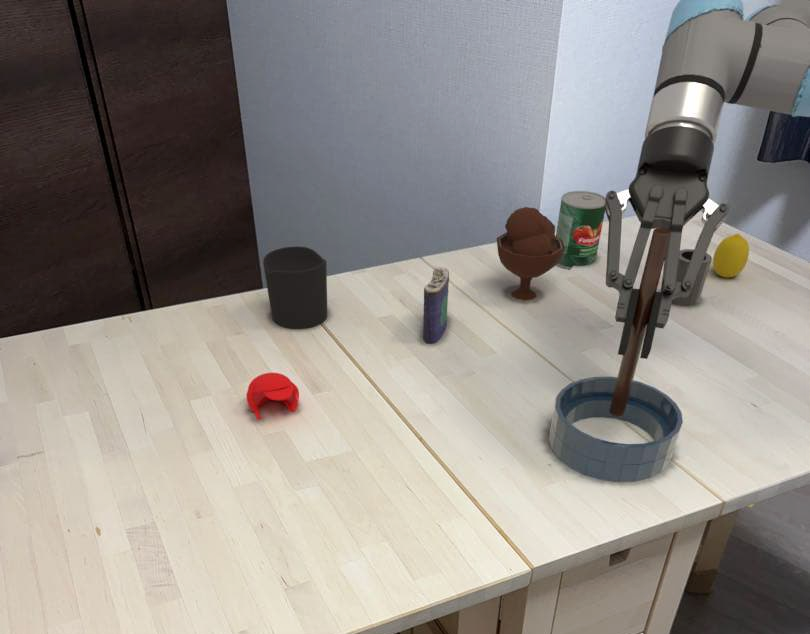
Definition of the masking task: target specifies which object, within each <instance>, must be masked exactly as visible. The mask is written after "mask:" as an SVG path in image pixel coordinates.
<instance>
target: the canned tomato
mask: <svg viewBox="0 0 810 634" xmlns="http://www.w3.org/2000/svg"><path fill="white" fill-rule="evenodd" d="M560 199H561V200H560V206H559V213H558V219H557V226H556V230H555V236H556V237H558V238H560V239H562V240H563V243H564V247H565V250H564V252H563V255H562V258H561V259H560V261H559V262H558V264H557V265H556V266H557V267H559V268H562V269H566V270H572V269H573V267H584V266H589V265H592V264H593V263H595V262H596V260H597V255H598V250H599V244H600V239H601V235H602V234H601V233H602V231H603V230H602V229H603V225H604V219H605V215H606V212H605V209H604V205H605V199H606V196H604V195H602V194H600V193H598V192H593V191H587V190H574V191H568V192H566V193H564V194H562V195H561V198H560Z"/></svg>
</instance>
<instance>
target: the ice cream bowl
mask: <svg viewBox="0 0 810 634" xmlns="http://www.w3.org/2000/svg"><path fill="white" fill-rule="evenodd" d="M504 227H505V229H506V230H505V231H506V232H504V233H502V234H501V235H499V236H496V247H497V255H498V258H499V262H500V263H501V264H502V266H503V267H504V268H505V269H506V270H507V271H508V272H510V273H511V274H513V275H515V276H516V277H519V279H520V281H519V287H518V288H515V289H514V290H512V291H511V292H510V296H511V297H512V298H514V299H515V300H518V301H519V300H520V301H524V302H525V301H533V300H535V299H536V298H537V297H538V294H537V292H535V291H534V290H532V289H531V281H532V279H533V278H538V277H540V276H543V275H545V274H546V273H547V272H549V271H551V270H552V269H553V268H554V267H556V266H558V265H557V264H558V262H559V261H560V259H561V258H562V255H563V252H564V250H565V247H564V243H563V240H562V239H560V238H558V237H556V226H555V224H554V223H553V222H552V221H551V220H550V219H549V217H547V216H545V215H544V214H542V213H541V212H540V211H539V209H537V208H535V207H528V206H524V207H520V208H518V209H516V210H514V211H513V212H512V213H510V215H509V217H508V218H507V219H506V223H505V225H504Z"/></svg>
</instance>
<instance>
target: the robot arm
mask: <svg viewBox="0 0 810 634" xmlns="http://www.w3.org/2000/svg"><path fill="white" fill-rule="evenodd" d="M744 16H745V14H744V3H743V0H679V1H678V2H677V3H676V5H675V7H674V9H673V10H672V13H671V16H670V20H669V24H668V28H667V32H666V35H665V38H664V42H663V45H662V48H661V55H660V61H659V67H658V71H657V76H656V80H655V81H656V82H655V87H654V91H653V96H652V99H651V104H650V107H649V108H650V109H649V113H648V117H647V121H646V126H645V131H644V141H643V142H642V145H641V149H640V150H641V151H640V153H639V154H640V155H639V159H638V165H637V169H636V174H635V177H634V179H633V180H632V181H631V182H630V184H629V186H628V188H626V189H624V190H621V191H618V192H617V191H615V190H609V191H608V192H606V194H605V198H606V199H605V205H604V209H605V215H606V217H607V221H608V230H607V231H608V233H607V248H606V249H607V250H606V251H607V253H606V266H605V268H606V270H605V272H606V273H605V285H606V287H608V288H609V289H610V288H613V289H615V290H616V291H617V292H618V293H619V294H618V295H619V296H618V301H617V306H616V310H615V315H614V320H615V322H616V323H621V324H623V328H622V332H621V337H620V342H619V347H618V350H617V355H619V356H623V355H625V353H626V350H627V347H628V342H629V337H630V333H631V328H632V323H633V319H634V314H635V309H636V305H637V300H638V295H639V291H640V289H639V288H634V285H635V282H636V278H637V276H638V272H639V270H640V266H641V263H642V260H643V256H644V253H645V251H646V246H647V244H648V242H649V241H648V239H649V237H650V234H651V230H654V229H656V228H665V229H668V230H670V231H671V237H670V241H669V245H668V248H667V252H666V256H665V260H664V264H663V268H662V276H661V277H662V278H661V285H660V291H656V293H655V297H654V301H653V304H652V308H651V312H650V316H649V320H648V323H647V328H646V332H645V336H644V340H643V344H642V348H641V351H640V355H639V359H645V360H648V358H649V356H650V353H651V352H652V351H651V350H652V346H653V342H654V336H655V333H656V328H657V329H663V330H664V329H665V327H666V325H667V323H668V321H669V317H670V312H671V309H672V304H673V303H672V300H673V299H675V298H678V297H682V298H685V297H687V296H688V295H689V294H690V292H691V290H692V288H693V286H694V283H695V281H696V278H697V275H698V273H699V270H700V268H701V265H702V262H703V260H704V257H705V255H706V253H708V252H707V251H708V250H709V247H710V244H711V242H712V239H713V236H714V234H715V232H716V231H717V230H718V229H719V228H720V226H721V225H722V224H723V223H724V221H725V219H726V217H727V215H728V213H729V211H730V206H729V205H728V204H726V203H720V204H718V203H716V202H715V201H713V200H712V199H711V198H710V191H709V187H708V179H709V174H710V170H711V165H712V159H713V155H714V151H715V143H716V140H717V137H718V134H719V133H718V132H719V128H720V123H721V118H722V114H723V109H724V104H725V103H726V104H729V105H730V104H731V105H737V106H744V107H749V108H753V109H754V108H755V109H758V110H763V111H764V110H765V111H769V112H774V113H780V114H785V115H790V116H791V117H793V118H796V117H805V118H810V0H785V1H784V2H782V3H780V4H776V3H775V4H770V5H764V6H762V7H760V8H757V9H756V10H755V11H753V12H751V14H750V15H749V16H747V17H746V19H744ZM628 203H630V205H631V208H632V209H633V211H634V213H635V215H636V217H637V219H638V221H639V222H640V225H639V228H638V231H637V235H636V238H635V240H634V245H633V247H632V250H631V254H630V257H629V260H628V263H627V267H626V270H625V273H624V274H623V273H621V272H620V260H621V259H620V258H621V242H622V241H621V240H622V239H621V238H622V222H623V214H624V213H626V209H627V207H628V206H627V204H628ZM700 211H702V217H701V219H700V220H701V223H702V225H703V227H702V229H701V232H700V234H699V237H698V239H697V242H696V244H695V246H694V248H693V249H694V252H693V254H692V257H691V260H690V262H689V265H688V267H687V270H686V273H685V275H684V278H683V280H682V281H681V282H676V278H677V270H678V261H679V253H680V250H681V244H682V235H683V229H684V226H685V225H686V224H687V223H688V222H690V221H691V220H692V219H693V218H694V217H695V216H696V215H697V214H698V213H699V212H700Z"/></svg>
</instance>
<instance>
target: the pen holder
mask: <svg viewBox="0 0 810 634" xmlns="http://www.w3.org/2000/svg"><path fill="white" fill-rule="evenodd" d="M262 261H263V263H262V264H263V271H264V277H265V283H266V289H267V294H268V301H269V306H270V312H271V317H272V319H271V320H272V322H274V324H275V325H277V326H279V327H281V328H285V329H289V330H307V329H312V328H315V327H317V326H320V325H322V324H323V323H324V322H325V321H326V320H327V318H328V277H327V276H328V275H327V272H328V271H327V260H326V259H324V258H323V257H322V256H321V255H320V254H319V253H318V252H317V251H315V250H314V249H312V248H309V247H306V246H286V247H281V248H277V249H274V250H271V251H269V252H268V253H267V254H266V255H265V256H264V257H263V260H262Z"/></svg>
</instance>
